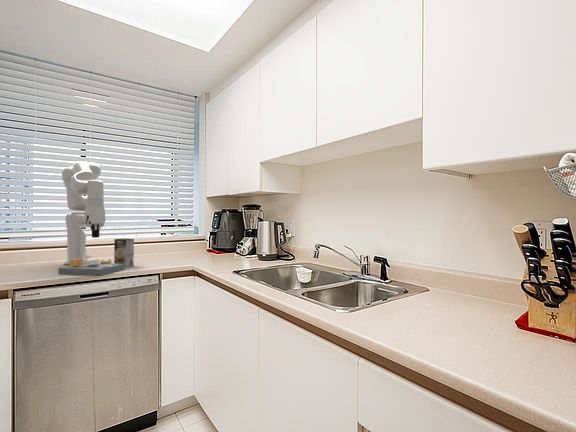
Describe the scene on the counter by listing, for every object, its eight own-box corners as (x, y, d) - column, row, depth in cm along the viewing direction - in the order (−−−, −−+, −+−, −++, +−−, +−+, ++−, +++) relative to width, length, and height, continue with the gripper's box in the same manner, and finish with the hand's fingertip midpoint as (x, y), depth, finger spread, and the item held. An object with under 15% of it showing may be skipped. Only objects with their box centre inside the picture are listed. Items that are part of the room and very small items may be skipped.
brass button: (105, 262, 166) (105, 259, 166) (113, 262, 165) (113, 259, 165) (98, 264, 161) (98, 260, 161) (106, 264, 160) (106, 260, 160)
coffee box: (113, 266, 182) (113, 238, 182) (122, 264, 188) (122, 238, 188) (125, 267, 179) (125, 239, 179) (134, 265, 185) (134, 238, 185)
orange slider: (75, 265, 164) (75, 258, 164) (81, 265, 164) (81, 258, 164) (70, 266, 161) (70, 259, 161) (77, 266, 161) (77, 259, 161)
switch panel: (86, 268, 175) (86, 261, 175) (125, 269, 171) (125, 262, 171) (58, 273, 157) (58, 266, 157) (100, 275, 154) (100, 268, 154)
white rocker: (91, 263, 167) (91, 260, 167) (99, 261, 166) (99, 259, 166) (85, 264, 163) (85, 261, 163) (93, 262, 162) (93, 260, 162)
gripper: (100, 204, 174) (100, 236, 174) (77, 202, 159) (77, 238, 159) (111, 203, 173) (112, 236, 172) (90, 202, 158) (90, 238, 158)
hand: (95, 237), depth 166 cm, fingers closed
